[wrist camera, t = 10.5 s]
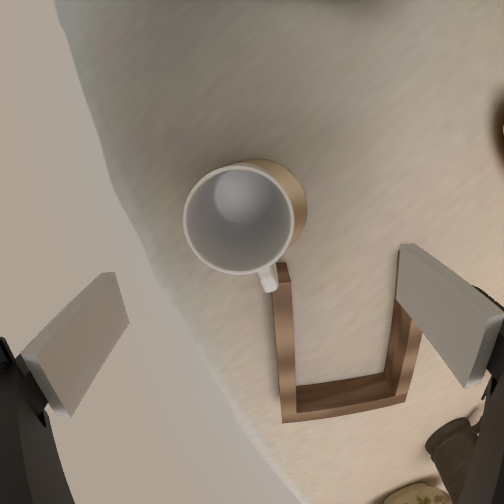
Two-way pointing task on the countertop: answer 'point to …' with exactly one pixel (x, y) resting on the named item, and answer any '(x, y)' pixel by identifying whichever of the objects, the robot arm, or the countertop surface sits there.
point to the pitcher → (419, 495)
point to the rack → (350, 390)
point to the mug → (239, 222)
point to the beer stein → (454, 453)
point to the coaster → (292, 190)
